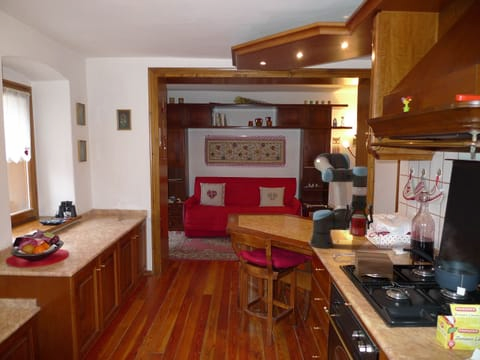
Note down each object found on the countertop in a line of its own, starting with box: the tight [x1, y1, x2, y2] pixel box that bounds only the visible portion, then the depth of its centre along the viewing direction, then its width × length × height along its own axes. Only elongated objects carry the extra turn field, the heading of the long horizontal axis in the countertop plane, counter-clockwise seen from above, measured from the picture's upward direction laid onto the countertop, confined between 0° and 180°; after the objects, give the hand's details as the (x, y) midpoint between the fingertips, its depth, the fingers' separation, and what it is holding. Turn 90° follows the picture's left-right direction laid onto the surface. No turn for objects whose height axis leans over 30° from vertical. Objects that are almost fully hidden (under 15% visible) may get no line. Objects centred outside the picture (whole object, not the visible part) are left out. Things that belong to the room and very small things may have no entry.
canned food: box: [351, 213, 367, 238], centre depth 178 cm, size 8×8×11 cm
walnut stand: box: [354, 250, 394, 280], centre depth 164 cm, size 16×16×8 cm
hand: (358, 234), depth 179 cm, fingers closed on canned food, 8 cm apart
